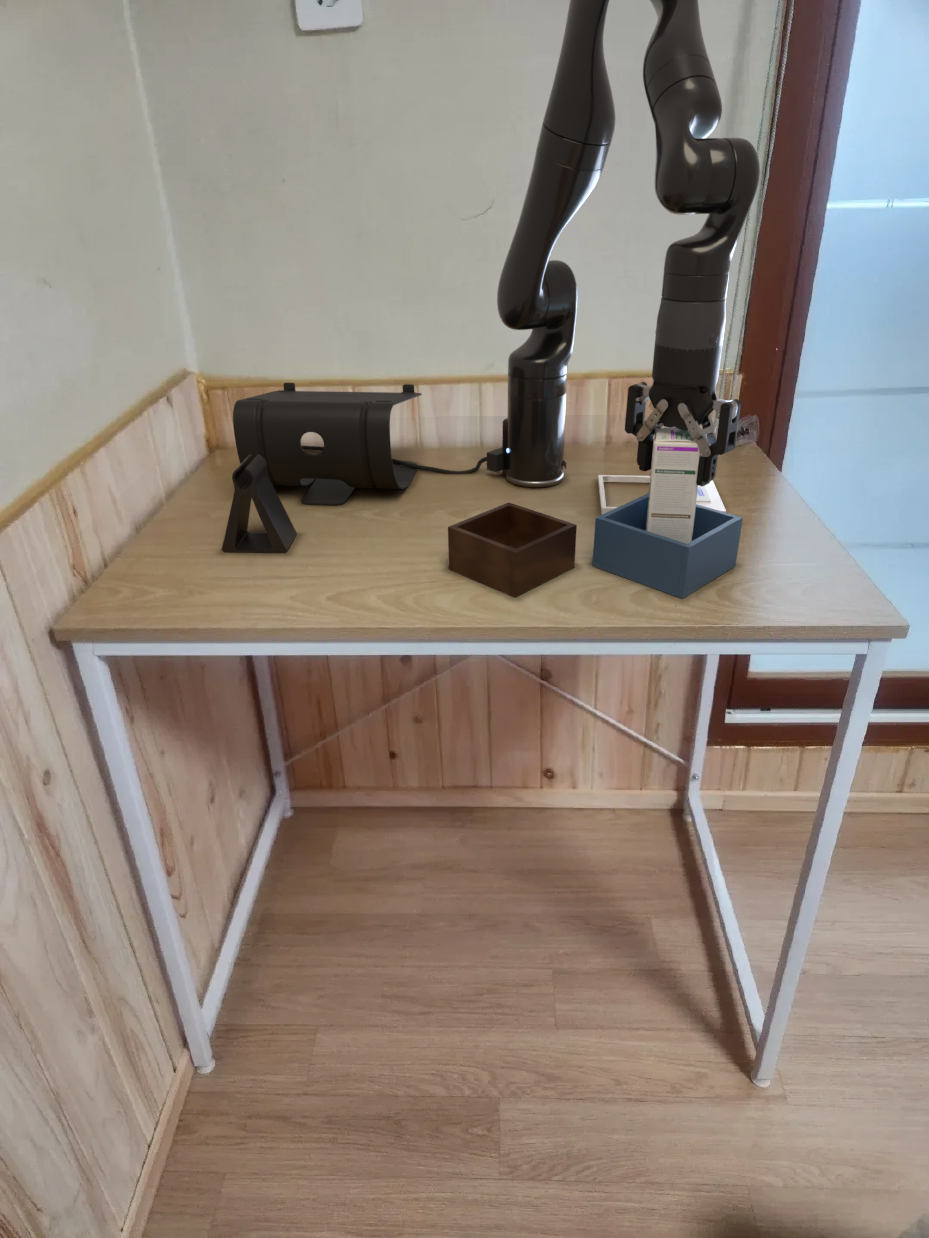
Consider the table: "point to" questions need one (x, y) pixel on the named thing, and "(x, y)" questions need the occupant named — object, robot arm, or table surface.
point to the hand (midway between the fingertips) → (673, 476)
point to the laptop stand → (346, 428)
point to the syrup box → (673, 484)
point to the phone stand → (268, 506)
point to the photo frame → (705, 494)
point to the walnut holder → (512, 571)
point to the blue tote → (666, 548)
